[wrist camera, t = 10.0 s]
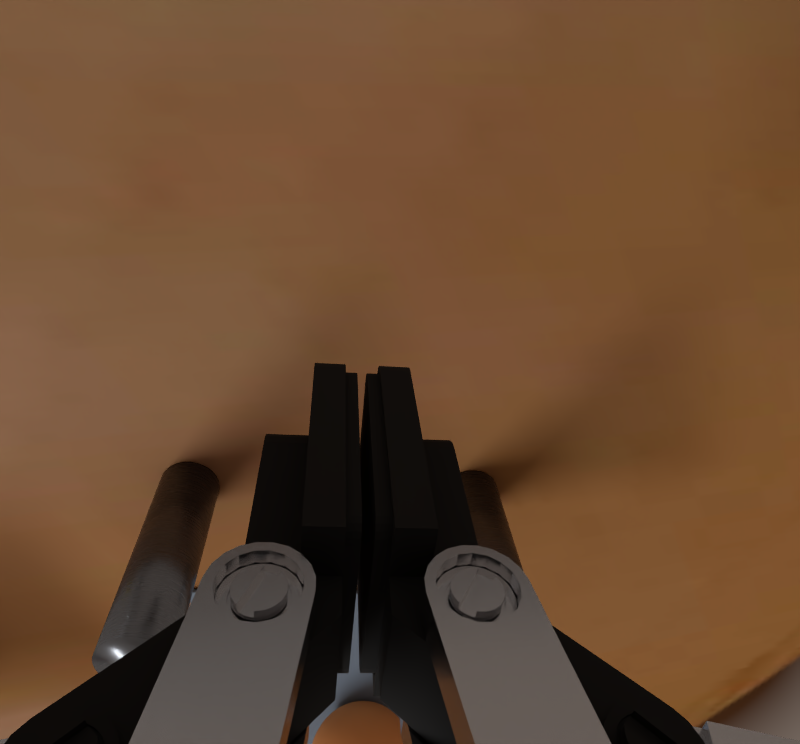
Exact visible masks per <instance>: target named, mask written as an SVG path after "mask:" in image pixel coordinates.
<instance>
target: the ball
mask: <svg viewBox="0 0 800 744" xmlns="http://www.w3.org/2000/svg"><path fill="white" fill-rule="evenodd" d="M312 744H403V742H402V738H401V730H400V719H399V717H398V716H397V715H396V714H395V713H393V712H392V711H391V710H390V709H388V708H387V707H385V706H383V705H381V704H379V703H376V702H371V701H355V702H351V703H347V704H345V705H343V706H341V707H339V708H337V709H336V710H335V711H333V712H332V713H331V714H330V715H329V716H328V717H327V718H326V719H325V720H324V721H323V723H322V724H321V726H320V727H319V729H318V731H317V733H316V735H315V737H314V740H313V743H312Z"/></svg>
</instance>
